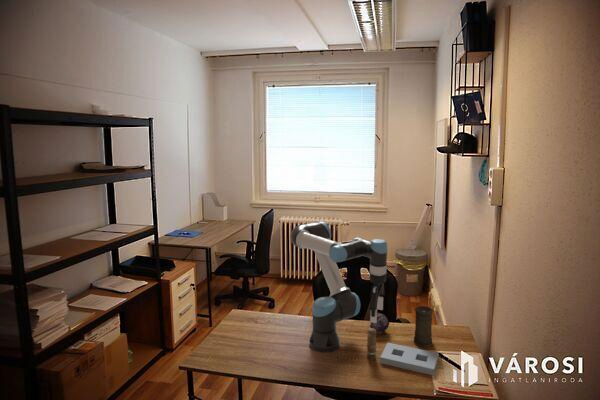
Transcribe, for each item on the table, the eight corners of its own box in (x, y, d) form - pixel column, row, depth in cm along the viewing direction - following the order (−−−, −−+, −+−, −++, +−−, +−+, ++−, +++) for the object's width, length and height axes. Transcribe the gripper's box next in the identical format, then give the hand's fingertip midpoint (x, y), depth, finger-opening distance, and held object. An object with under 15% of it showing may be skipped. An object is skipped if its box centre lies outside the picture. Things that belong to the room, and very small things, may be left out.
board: (380, 362, 192) (380, 357, 192) (387, 348, 204) (387, 342, 204) (433, 375, 182) (434, 369, 181) (438, 359, 194) (438, 353, 194)
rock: (371, 338, 217) (390, 338, 216) (370, 324, 214) (390, 324, 213) (369, 324, 228) (387, 324, 227) (369, 311, 225) (387, 310, 224)
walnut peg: (366, 358, 196) (366, 331, 193) (368, 354, 200) (368, 327, 197) (374, 360, 194) (374, 333, 192) (376, 356, 198) (377, 329, 195)
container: (433, 348, 203) (434, 314, 200) (414, 346, 205) (415, 312, 202) (431, 339, 212) (432, 306, 209) (413, 337, 214) (414, 305, 210)
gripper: (380, 284, 177) (378, 329, 181) (391, 265, 199) (390, 305, 204) (363, 281, 180) (362, 326, 184) (376, 262, 202) (374, 303, 207)
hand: (376, 315), depth 194 cm, fingers open, 13 cm apart
